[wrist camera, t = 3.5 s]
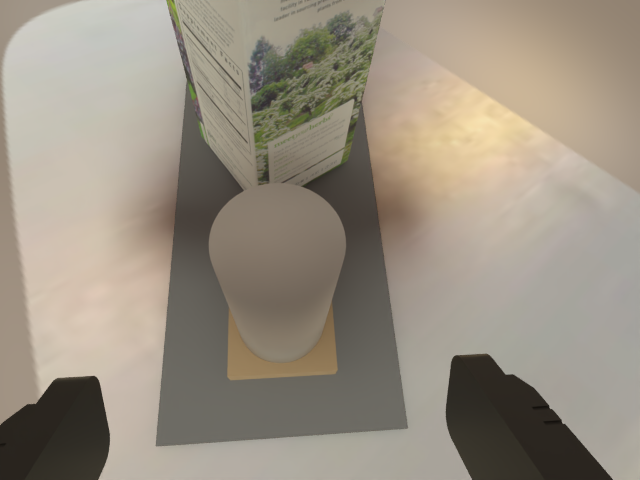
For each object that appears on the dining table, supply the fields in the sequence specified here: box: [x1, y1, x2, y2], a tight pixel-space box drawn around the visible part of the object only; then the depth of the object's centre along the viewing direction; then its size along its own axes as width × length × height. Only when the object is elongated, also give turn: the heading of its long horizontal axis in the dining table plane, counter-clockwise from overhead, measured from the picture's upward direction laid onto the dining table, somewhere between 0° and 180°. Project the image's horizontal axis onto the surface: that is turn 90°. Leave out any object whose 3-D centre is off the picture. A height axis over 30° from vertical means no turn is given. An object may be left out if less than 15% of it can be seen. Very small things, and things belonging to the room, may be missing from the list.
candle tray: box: [156, 81, 408, 446], centre depth 18 cm, size 10×20×9 cm, turn 4°
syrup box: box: [166, 0, 386, 191], centre depth 17 cm, size 6×6×14 cm
